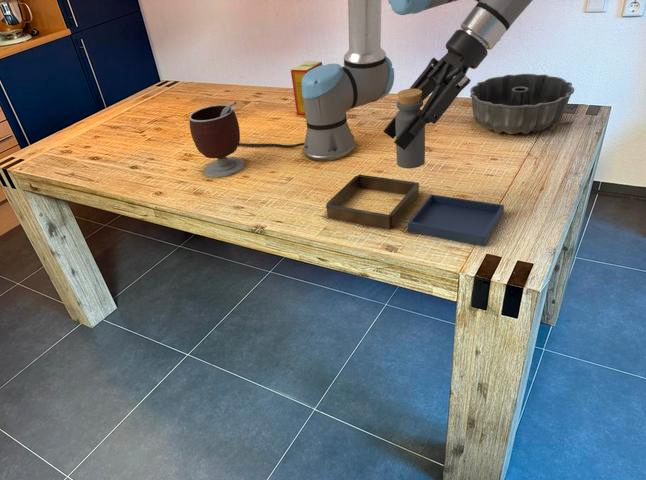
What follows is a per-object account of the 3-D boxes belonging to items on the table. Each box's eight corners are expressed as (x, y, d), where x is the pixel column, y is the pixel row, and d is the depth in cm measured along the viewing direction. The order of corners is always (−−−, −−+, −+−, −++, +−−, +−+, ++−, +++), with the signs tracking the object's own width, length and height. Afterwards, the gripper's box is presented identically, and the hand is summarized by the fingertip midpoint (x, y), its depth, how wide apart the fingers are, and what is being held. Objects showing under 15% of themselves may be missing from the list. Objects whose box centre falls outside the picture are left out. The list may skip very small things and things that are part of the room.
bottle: (425, 167, 105) (425, 95, 96) (396, 169, 107) (394, 98, 98) (424, 156, 110) (424, 86, 101) (397, 157, 111) (394, 89, 102)
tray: (407, 231, 110) (407, 222, 109) (430, 202, 118) (430, 194, 117) (484, 246, 101) (485, 236, 100) (503, 214, 109) (504, 205, 108)
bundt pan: (590, 125, 137) (598, 88, 131) (505, 150, 133) (509, 113, 128) (525, 100, 158) (529, 67, 152) (450, 121, 154) (451, 88, 149)
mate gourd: (193, 178, 151) (174, 112, 139) (215, 157, 161) (199, 94, 149) (239, 179, 145) (224, 110, 133) (258, 158, 155) (246, 92, 143)
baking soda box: (312, 116, 177) (306, 69, 168) (297, 115, 181) (290, 68, 171) (326, 106, 183) (321, 60, 173) (311, 105, 186) (306, 60, 177)
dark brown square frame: (325, 217, 120) (324, 205, 118) (358, 185, 130) (357, 174, 129) (391, 230, 111) (390, 217, 109) (420, 195, 122) (420, 182, 120)
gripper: (512, 62, 90) (423, 167, 98) (464, 42, 105) (390, 134, 114) (486, 36, 86) (396, 147, 95) (440, 20, 102) (366, 116, 110)
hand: (393, 140), depth 104 cm, fingers closed on bottle, 6 cm apart
